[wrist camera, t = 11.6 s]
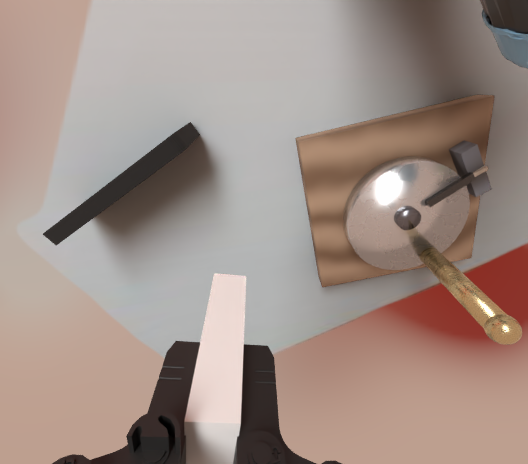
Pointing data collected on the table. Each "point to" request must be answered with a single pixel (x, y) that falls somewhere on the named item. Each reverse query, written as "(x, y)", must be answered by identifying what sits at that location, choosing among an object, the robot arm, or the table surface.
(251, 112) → the table surface
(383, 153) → the walnut stand
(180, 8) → the table surface
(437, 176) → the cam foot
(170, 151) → the nameplate
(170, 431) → the robot arm
